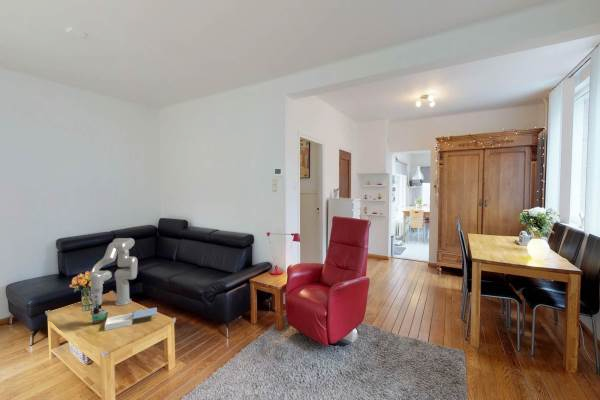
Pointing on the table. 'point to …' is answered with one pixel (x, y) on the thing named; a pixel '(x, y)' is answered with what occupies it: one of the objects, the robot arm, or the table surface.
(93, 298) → the robot arm
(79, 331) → the table surface
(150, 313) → the lid
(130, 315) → the white rectangular tray
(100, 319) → the food container
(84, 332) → the table surface
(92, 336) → the table surface
